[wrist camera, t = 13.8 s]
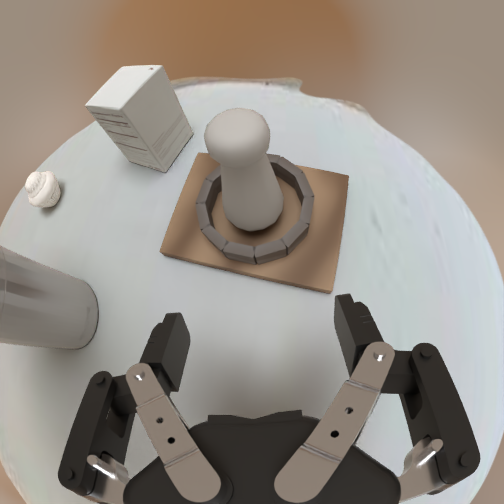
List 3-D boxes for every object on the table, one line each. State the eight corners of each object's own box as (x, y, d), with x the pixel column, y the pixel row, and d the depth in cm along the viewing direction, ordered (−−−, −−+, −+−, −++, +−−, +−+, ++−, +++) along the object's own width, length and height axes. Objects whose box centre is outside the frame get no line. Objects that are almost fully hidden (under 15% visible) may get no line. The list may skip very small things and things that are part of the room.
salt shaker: (264, 249, 26) (246, 174, 14) (217, 222, 28) (171, 142, 16) (294, 203, 28) (296, 110, 15) (247, 180, 29) (224, 88, 17)
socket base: (165, 255, 29) (149, 243, 25) (201, 159, 33) (192, 139, 29) (329, 293, 26) (337, 286, 22) (346, 182, 29) (353, 162, 26)
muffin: (44, 222, 34) (16, 204, 27) (42, 196, 36) (17, 177, 29) (68, 200, 34) (41, 178, 28) (65, 175, 36) (41, 153, 30)
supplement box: (157, 125, 36) (122, 64, 24) (195, 134, 34) (164, 63, 22) (128, 162, 34) (82, 105, 22) (165, 175, 33) (119, 108, 21)
